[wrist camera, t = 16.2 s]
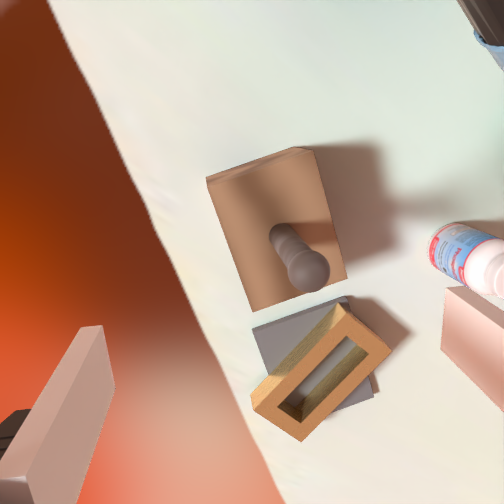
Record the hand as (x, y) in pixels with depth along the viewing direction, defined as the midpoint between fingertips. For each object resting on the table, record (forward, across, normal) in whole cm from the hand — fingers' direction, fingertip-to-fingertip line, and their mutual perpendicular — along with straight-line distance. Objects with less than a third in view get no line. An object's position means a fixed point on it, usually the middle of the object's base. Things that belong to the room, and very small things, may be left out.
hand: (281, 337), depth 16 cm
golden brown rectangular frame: (+29, +8, -22) cm, 38 cm away
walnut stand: (+31, +4, -3) cm, 31 cm away
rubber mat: (+30, +8, -22) cm, 39 cm away
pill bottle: (+31, +26, -9) cm, 42 cm away
